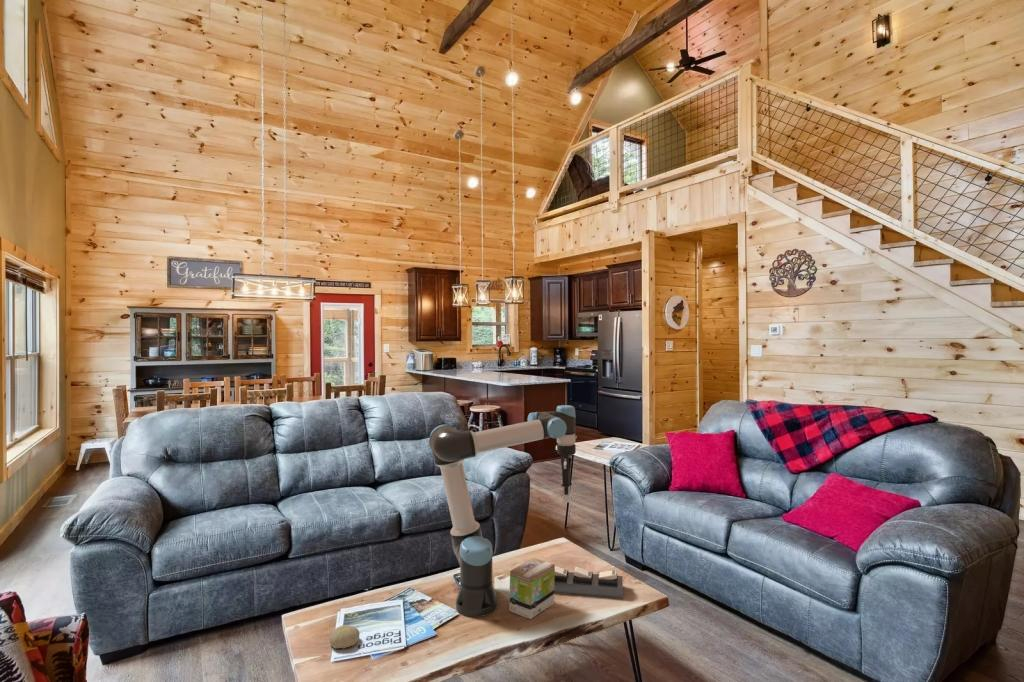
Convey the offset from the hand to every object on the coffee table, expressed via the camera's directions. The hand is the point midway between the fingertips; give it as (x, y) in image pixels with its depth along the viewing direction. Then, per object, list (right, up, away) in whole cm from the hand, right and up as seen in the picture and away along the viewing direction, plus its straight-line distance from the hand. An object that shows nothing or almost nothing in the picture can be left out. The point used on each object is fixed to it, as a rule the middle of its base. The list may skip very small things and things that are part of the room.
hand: (566, 501), depth 220 cm
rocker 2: (+5, -25, -11) cm, 27 cm away
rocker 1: (-4, -25, -9) cm, 26 cm away
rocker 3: (+14, -24, -13) cm, 31 cm away
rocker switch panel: (+5, -31, -11) cm, 33 cm away
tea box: (-15, -31, -24) cm, 42 cm away
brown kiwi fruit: (-76, -32, -46) cm, 94 cm away
